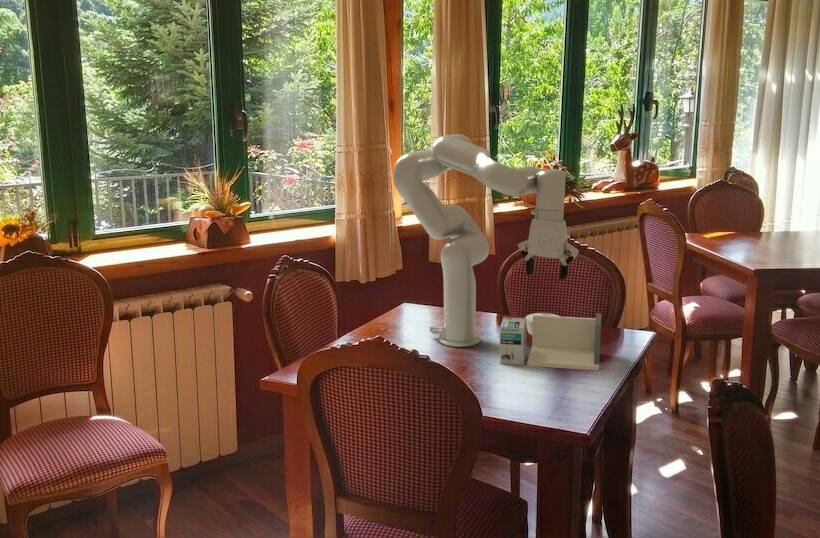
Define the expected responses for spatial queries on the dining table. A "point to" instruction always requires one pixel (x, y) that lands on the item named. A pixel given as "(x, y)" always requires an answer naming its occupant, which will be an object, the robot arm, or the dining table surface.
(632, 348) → the dining table surface
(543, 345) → the cream open angled stand
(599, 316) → the bookend
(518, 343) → the light bulb box
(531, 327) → the ramekin
